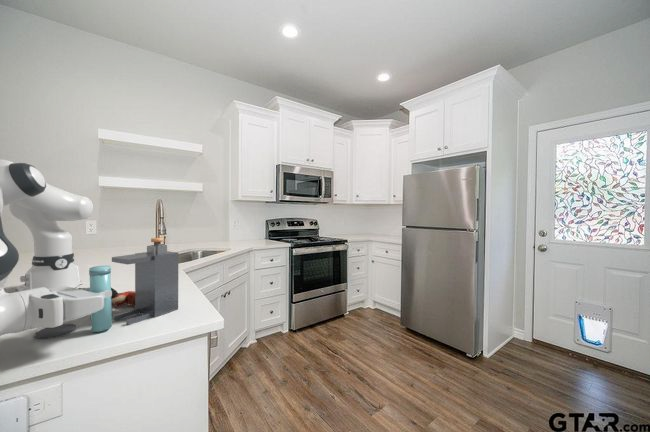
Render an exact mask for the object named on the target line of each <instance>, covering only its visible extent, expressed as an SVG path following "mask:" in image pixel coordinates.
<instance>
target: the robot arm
mask: <svg viewBox="0 0 650 432" xmlns="http://www.w3.org/2000/svg"><path fill="white" fill-rule="evenodd" d="M93 204H94V203H93V202H92V200H91V199H90V198H89V197H87V196H83V195H81V194H80V195H79V194H76V193H72V192H69V191H66V190H65V189H63V188H60V187H56V186H54V185H52V184H49V183H48V182H46V179H45V177H44V175H43V174H42V172H41V171H40V170H39V169H38V168H36V167H35V165H32V164H28V163H27V162H26V163H25V162H14V161H11V160H7V159H3V158H2V159H0V336H1V337H2V336H4V335H7V334H17V333H21V332H25V331H28V330H34V329H38V328H42V329H44V328H53V327H57V326H60V325H62V324H64V322H69V321H73V320H77V319H80V318H83V317H84V318H85V316H88V315H91V314H92V313H95V312H98V311H100V310H101V309H103V308H104V299H105V298H108V297H111V296H112V291H111V290H104V291H101V292H100V293H93V292H90V287H84V288H85V289H78V287H79V286H80V285H82V284H84V281H83V280H80V273H79V266H78V265H77V264H75V263H74V262H75V253H74V250H73V236H72V234H71V233H70V232H69V231H66V230H64V229H62V228H61V227H59V226H58V222H75V221H82V220H87V219H88V218H90V217H91V216H92V214H93V213H94V205H93ZM8 205H9V206H8ZM5 206H8V208H9V211H10V214H11V215H12V216H13V217H14V218H16V219H18V220H19V221H21V222H22V223H23V224H24V225H25V226H26V227H27V228H28V230H29V231H30V233H31V235H32V238H33V239H32V241H33V247H34V255H33V257H32V259H31V265H32V266H30V268H29V269H28V270H27V272H26V273H25V274H24V275H21V276H20V277H19V279H20V282H21V283H24V284H20V285H17V286H16V287H15V288H16V290H17V291H15V292H6V291H5V289H4V286H5V285H6V283H7V280H8V278H9V276H10V275H11V273H12V272H13V269H14V268H16V266H17V265H18V262H19V260H20V259H19V258H20V254H19V252H18V249H17V248H16V246H15V245H14V244H13V243H12V242H11V241H10V239H9V238H7V236H6V235H5V232H4V229H3V228H4V227H3V223H2V216H3V213H4V212H3V211H4V207H5Z"/></svg>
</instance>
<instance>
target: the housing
mask: <svg viewBox="0 0 650 432" xmlns="http://www.w3.org/2000/svg"><path fill="white" fill-rule="evenodd" d="M111 262H112V263H115V264H116V263H117V264H123V265H134V291H135V306H134V307H135V308H134V309H131V310H129V311H126V312H122V313H118V314H115V315H112V317H113V318H112V321H113V322H117V321H119V320H123V319H126V318H128V317H132V316H133V317H132V318H128V319H126V326H131V325H133V324H135V323H138V322H139V323H140V322H142V321H144V320H147V319H148V320H149V319H150V318H155V319H156V318H158V317H160V316H163V315H165V314H169V313H171V312H174V311H177V310H179V252H177V251H168V245H167V244H161V243H160V246H154V244H151V245H146V251H143V252H137V253H136V252H135V253H133V254H126V255H120V256H119V255H118V256H112V257H111ZM140 314H141V315H140ZM134 315H138V316H135V317H134Z"/></svg>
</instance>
